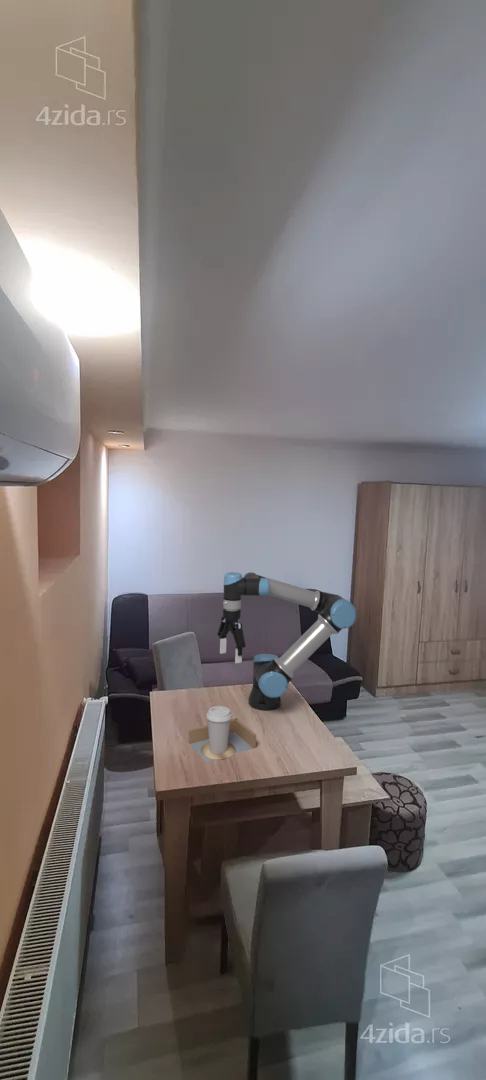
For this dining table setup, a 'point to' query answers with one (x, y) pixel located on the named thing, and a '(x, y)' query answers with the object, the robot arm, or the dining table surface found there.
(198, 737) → the tray
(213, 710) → the coffee cup
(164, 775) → the dining table surface
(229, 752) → the pad
